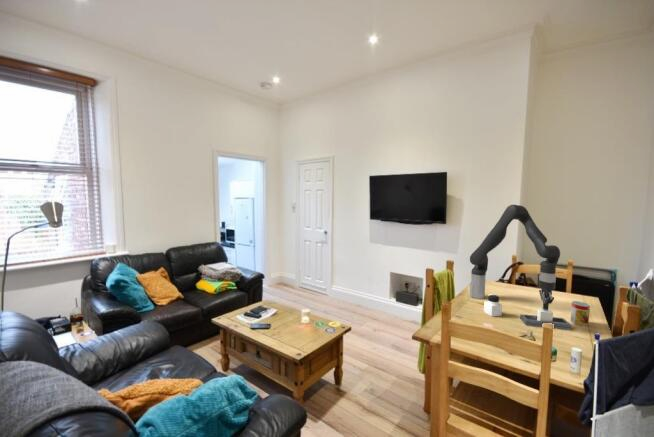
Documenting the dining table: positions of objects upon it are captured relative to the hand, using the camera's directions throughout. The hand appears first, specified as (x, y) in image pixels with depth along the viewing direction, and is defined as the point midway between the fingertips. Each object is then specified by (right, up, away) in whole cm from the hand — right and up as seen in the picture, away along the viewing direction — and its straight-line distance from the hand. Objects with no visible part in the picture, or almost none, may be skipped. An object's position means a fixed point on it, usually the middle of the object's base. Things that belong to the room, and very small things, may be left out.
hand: (545, 309), depth 167 cm
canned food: (+21, -9, +2) cm, 23 cm away
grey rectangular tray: (0, -9, +1) cm, 9 cm away
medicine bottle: (-22, -8, +15) cm, 28 cm away
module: (0, -8, +1) cm, 8 cm away
